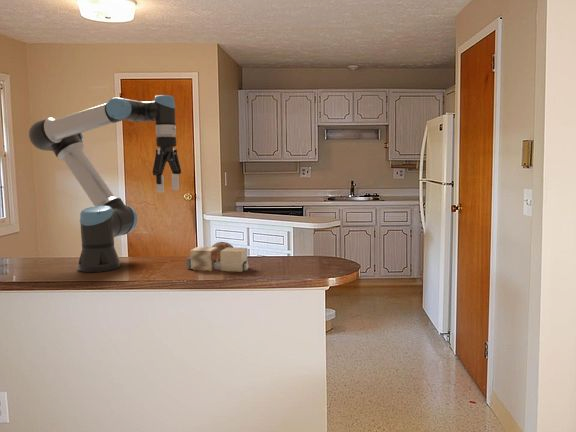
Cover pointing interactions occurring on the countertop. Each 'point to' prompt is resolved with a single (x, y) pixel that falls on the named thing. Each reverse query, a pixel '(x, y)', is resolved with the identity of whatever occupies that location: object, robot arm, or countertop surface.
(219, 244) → the seashell
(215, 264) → the rail
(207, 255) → the slotted tan cube
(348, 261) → the countertop surface
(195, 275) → the countertop surface
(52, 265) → the countertop surface
